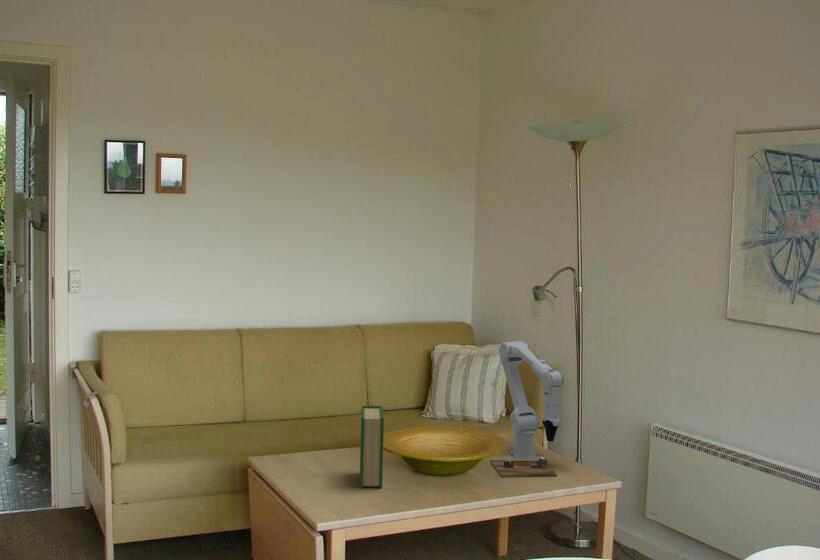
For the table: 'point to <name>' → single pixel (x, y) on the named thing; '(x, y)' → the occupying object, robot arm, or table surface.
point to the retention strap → (524, 458)
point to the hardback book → (371, 446)
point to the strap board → (523, 468)
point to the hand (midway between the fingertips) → (550, 440)
